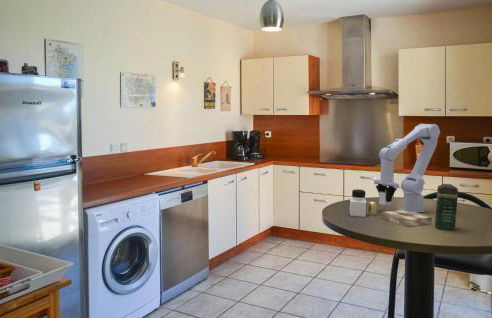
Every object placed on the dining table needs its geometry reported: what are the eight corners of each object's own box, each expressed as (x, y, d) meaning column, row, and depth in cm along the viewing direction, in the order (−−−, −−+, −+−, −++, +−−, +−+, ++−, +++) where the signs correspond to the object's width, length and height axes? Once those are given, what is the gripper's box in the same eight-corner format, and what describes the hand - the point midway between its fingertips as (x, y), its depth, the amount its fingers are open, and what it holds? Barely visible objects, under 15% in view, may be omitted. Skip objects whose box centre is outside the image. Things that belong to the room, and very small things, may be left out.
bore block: (403, 215, 208) (403, 209, 207) (431, 223, 193) (431, 217, 193) (381, 218, 201) (381, 212, 201) (408, 226, 187) (408, 219, 187)
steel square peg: (385, 203, 215) (385, 191, 214) (391, 204, 211) (391, 192, 211) (379, 203, 213) (379, 191, 213) (385, 205, 210) (385, 192, 209)
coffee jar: (456, 231, 181) (459, 186, 179) (435, 229, 184) (438, 185, 182) (453, 225, 190) (456, 183, 188) (434, 224, 193) (436, 182, 191)
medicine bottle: (366, 217, 204) (367, 191, 202) (350, 216, 205) (351, 190, 204) (365, 213, 211) (366, 188, 209) (349, 212, 212) (350, 188, 211)
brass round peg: (372, 213, 212) (372, 201, 211) (378, 215, 208) (378, 202, 208) (365, 214, 210) (366, 201, 210) (371, 215, 207) (372, 203, 206)
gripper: (369, 171, 215) (368, 198, 217) (391, 175, 203) (390, 204, 204) (380, 170, 219) (379, 197, 220) (403, 174, 206) (401, 203, 207)
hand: (385, 200), depth 212 cm, fingers closed on steel square peg, 4 cm apart
